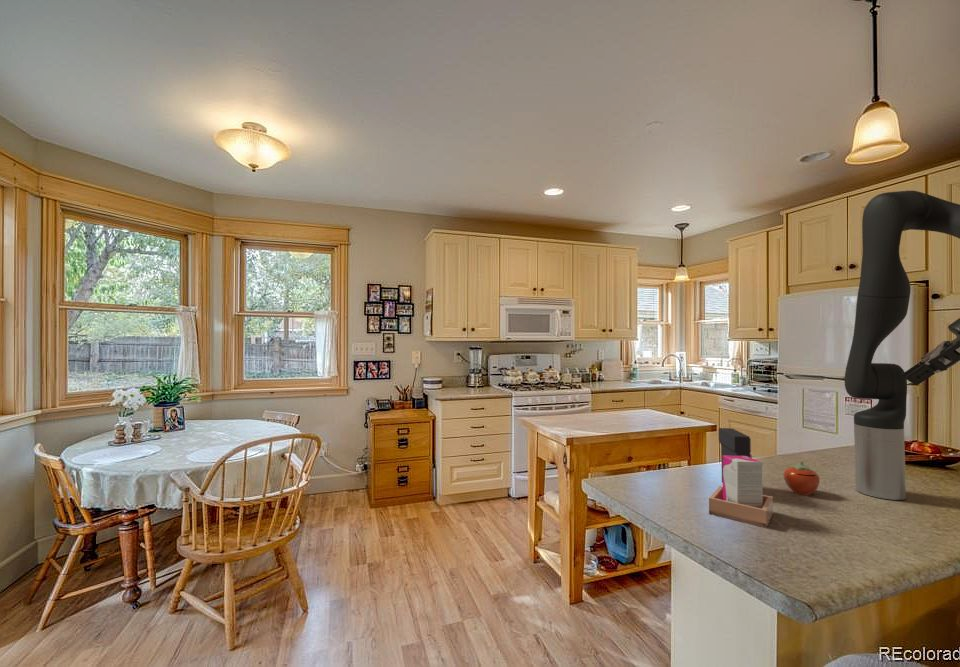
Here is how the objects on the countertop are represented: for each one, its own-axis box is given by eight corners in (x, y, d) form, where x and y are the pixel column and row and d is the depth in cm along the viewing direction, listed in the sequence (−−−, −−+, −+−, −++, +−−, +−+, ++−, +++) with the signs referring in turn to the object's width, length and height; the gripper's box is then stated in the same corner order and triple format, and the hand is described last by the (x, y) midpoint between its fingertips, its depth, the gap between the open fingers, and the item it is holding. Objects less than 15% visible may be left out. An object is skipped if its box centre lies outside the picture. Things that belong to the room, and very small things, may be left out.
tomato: (791, 496, 103) (790, 463, 103) (778, 486, 110) (778, 456, 110) (826, 499, 101) (825, 466, 101) (811, 488, 108) (810, 458, 108)
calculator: (754, 497, 102) (753, 436, 102) (735, 496, 103) (734, 436, 103) (736, 483, 113) (735, 428, 113) (719, 482, 113) (718, 427, 114)
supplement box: (764, 514, 89) (763, 461, 90) (736, 514, 90) (736, 461, 90) (747, 504, 95) (746, 454, 96) (721, 504, 95) (720, 454, 96)
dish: (720, 500, 100) (719, 486, 100) (773, 512, 93) (772, 496, 93) (709, 513, 92) (708, 498, 92) (766, 527, 85) (766, 510, 85)
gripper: (963, 311, 84) (886, 365, 92) (980, 306, 74) (892, 368, 81) (1006, 337, 81) (922, 391, 88) (1030, 335, 70) (932, 397, 77)
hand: (908, 380), depth 84 cm, fingers open, 8 cm apart
